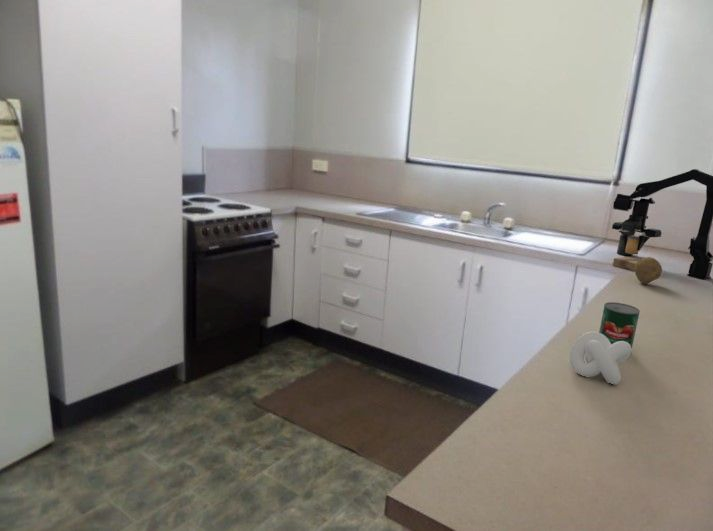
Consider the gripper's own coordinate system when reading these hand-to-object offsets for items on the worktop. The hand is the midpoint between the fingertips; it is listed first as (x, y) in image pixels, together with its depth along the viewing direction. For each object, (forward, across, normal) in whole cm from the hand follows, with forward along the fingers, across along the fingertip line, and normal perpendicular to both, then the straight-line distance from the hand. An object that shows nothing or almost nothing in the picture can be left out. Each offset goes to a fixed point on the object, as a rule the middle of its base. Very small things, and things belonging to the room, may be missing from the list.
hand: (632, 249), depth 235 cm
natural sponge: (+6, +22, -28) cm, 36 cm away
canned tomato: (+6, +54, -102) cm, 116 cm away
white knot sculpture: (+6, +62, -121) cm, 136 cm away
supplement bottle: (+6, -11, +15) cm, 20 cm away
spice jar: (+2, 0, 0) cm, 2 cm away
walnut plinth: (+6, +5, -8) cm, 11 cm away
